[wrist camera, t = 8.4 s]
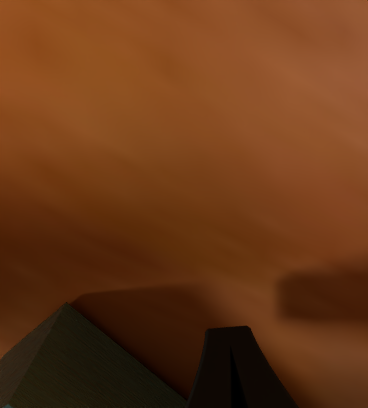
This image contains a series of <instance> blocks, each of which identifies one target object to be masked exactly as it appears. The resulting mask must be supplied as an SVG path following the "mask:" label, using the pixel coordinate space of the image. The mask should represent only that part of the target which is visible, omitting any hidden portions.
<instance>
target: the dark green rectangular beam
mask: <svg viewBox="0 0 368 408" xmlns="http://www.w3.org/2000/svg"><path fill="white" fill-rule="evenodd" d="M186 403H187V401H186V400H185V399H184V398H183V397H181V396H180V395H179V394H178V393H176V392H175V391H174V390H173V389H172V388H170V387H169V386H168V385H167V384H165V383H164V382H163V381H162V380H161V379H159V378H158V377H157V376H156V375H154V374H153V373H152V372H151V371H150V370H148V369H147V368H146V367H145V366H144V365H142V364H141V363H140V362H139V361H137V360H136V359H135V358H134V357H133V356H131V355H130V354H129V353H128V352H126V351H125V350H124V349H123V348H122V347H120V346H119V345H118V344H117V343H115V342H114V341H113V340H112V339H111V338H109V337H108V336H107V335H106V334H104V333H103V332H102V331H101V330H100V329H98V328H97V327H96V326H95V325H93V324H92V323H91V322H90V321H89V320H87V319H86V318H85V317H84V316H82V315H81V314H80V313H79V312H78V311H76V310H75V309H74V308H73V307H71V306H70V305H69V304H68V303H67V302H66V303H65V304H64V305H62V306H61V307H60V308H59V309H58V310H57V311H55V312H54V313H53V314H52V315H51V316H49V317H48V318H47V319H46V320H45V321H44V322H42V323H41V324H40V325H39V326H38V327H37V328H35V329H34V330H33V331H32V332H31V333H29V334H28V335H27V336H26V337H25V338H24V339H22V340H21V341H20V342H19V343H18V344H17V345H15V346H14V347H13V348H12V349H11V350H9V351H8V352H7V353H6V354H5V355H4V356H3V357H2V358H1V360H0V408H185V406H186Z"/></svg>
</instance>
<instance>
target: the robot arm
mask: <svg viewBox="0 0 368 408" xmlns="http://www.w3.org/2000/svg"><path fill="white" fill-rule="evenodd" d="M185 408H299V407H298V406H297V404H296V403H295V402H294V400H293V399H292V398H291V396H290V395H289V393H288V392H287V390H286V389H285V388H284V386H283V385H282V383H281V382H280V380H279V379H278V377H277V376H276V374H275V373H274V371H273V370H272V368H271V366H270V365H269V363H268V362H267V360H266V358H265V356H264V355H263V353H262V351H261V349H260V348H259V346H258V344H257V342H256V340H255V338H254V336H253V333H252V331H251V328H249V327H248V326H237V327H224V328H212V329H208V330H207V331H206V332H205V341H204V347H203V352H202V356H201V360H200V364H199V367H198V371H197V374H196V377H195V381H194V384H193V387H192V390H191V393H190V395H189V398H188V401H187V403H186V406H185Z"/></svg>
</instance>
